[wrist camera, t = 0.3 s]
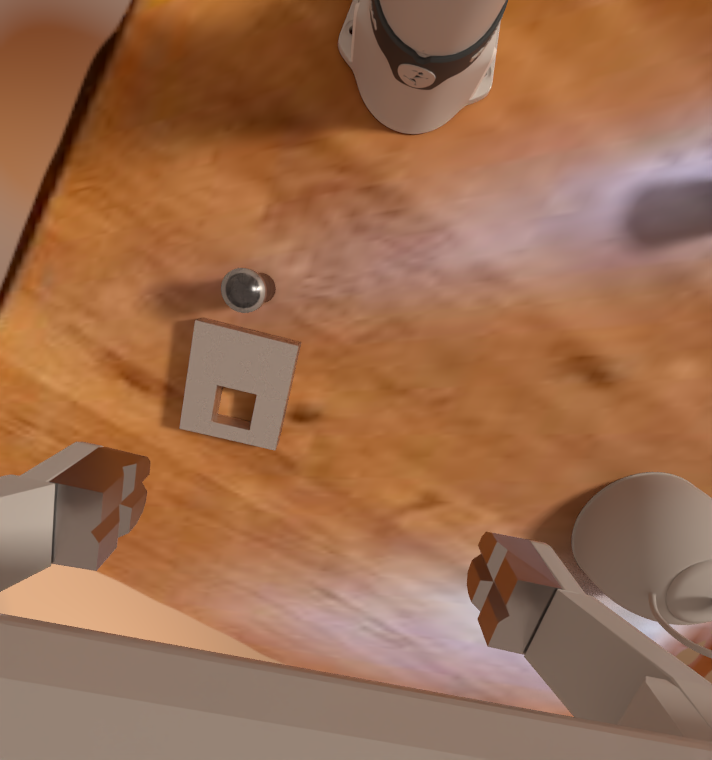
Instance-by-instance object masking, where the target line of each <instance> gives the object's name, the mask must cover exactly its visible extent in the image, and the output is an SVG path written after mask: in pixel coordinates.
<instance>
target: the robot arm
mask: <svg viewBox="0 0 712 760" xmlns="http://www.w3.org/2000/svg"><path fill="white" fill-rule="evenodd" d="M507 2H508V0H353V1H352V4H351V7H350V9H349V12H348V14H347V17H346V19H345V22H344V24H343V27H342V30H341V32H340V35H339V40H338V49H339V52H340V54H341V55H342V57H343V58H344V60H345V61H346V63H347V64H348V65H349V66H350V68H351V69H352V71H353V73H354V75H355V78H356V82H357V85H358V89H359V92H360V94H361V97H362V99H363V101H364V103H365V105H366V106H367V108H368V109H369V111H370V112H371V113H372V114H373V116H374V117H375V118H376V119H377V120H379V121H380V122H381V123H382V124H384V125H385V126H387V127H389V128H390V129H393V130H395V131H398V132H401V133H407V134H420V133H425V132H429V131H432V130H434V129H437V128H439V127H440V126H442V125H444V124H445V123H446V122H448V121H449V120H450V119H451V118H452V117H453V116H454V115H455V114H457V113H458V112H459V111H460V110H461V109H462V108H463V107H465V106H466V105H469V104H472V103H474V102H477V101H479V100H481V99H483V98H484V97H486V96H487V94H488V93H489V91H490V89H491V86H492V81H493V73H494V66H495V58H496V52H497V44H498V36H499V29H500V21H501V19H502V16H503V13H504V11H505V8H506V5H507ZM350 30H353V31H352V35H351V34H350V33H349V32H350ZM484 76H485V77H484ZM149 473H150V460H149V458H148V457H146V456H142V455H138V454H133V453H129V452H125V451H121V450H117V449H112V448H108V447H103V446H101V445H96V444H91V443H86V442H75V443H73V444H72V445H70V446H68V447H67V448H65V449H63V450H62V451H60V452H58V453H57V454H55V455H54V456H52V457H50V458H49V459H47V460H45V461H44V462H42V463H40V464H39V465H37V466H35V467H34V468H32V469H30V470H29V471H27V472H26V473H24V474H22V475H21V476H16V475H7V476H2V477H0V592H1V591H3V590H5V589H7V588H8V587H10V586H12V585H14V584H16V583H18V582H20V581H22V580H24V579H26V578H28V577H30V576H32V575H34V574H36V573H38V572H40V571H42V570H44V569H45V568H48V567H50V566H51V564H58V565H64V566H70V567H76V568H82V569H89V570H94V571H97V569H98V568H99V567H100V566H101V565H102V564H103V563H104V561H105V560H106V559H107V558H108V557H109V556H110V554H111V553H112V552H113V551H114V550H115V549H116V547H117V539H118V537H120V536H123V535H125V534H128V533H129V532H130V531H131V530H132V529H133V527H134V526H135V525H136V524H137V522H138V520H139V518H140V516H141V514H142V512H143V509H144V506H145V503H146V497H147V490H146V488H145V487H144V485H143V483H142V482H143V480H144V479H145V478H146V477H147V476H148V475H149ZM478 546H479V549H480V552H481V554H480V555H479V556H477V557H476V558H474V559H473V560H472V562H471V564H470V567H469V570H468V576H467V588H468V594H469V597H470V600H471V602H472V603H473V604H474V605H475V606H476V607H477V608H478V610H479V611H480V614H479V617H478V622H479V624H480V627H481V630H482V632H483V635H484V638H485V641H486V643H487V646H488V647H492V648H497V649H501V650H506V651H510V652H515V653H519V654H524V655H525V656H524V657H525V658H526V659H527V661H528V662H529V663H530V664H531V665H532V667H533V668H534V669H535V670H536V671H537V673H538V674H539V675H540V676H541V678H542V679H543V680H544V681H545V682H546V684H547V685H548V686H549V687H550V688H551V690H552V691H553V692H554V693H555V694H556V696H557V697H558V698H559V699H560V700H561V702H562V703H563V704H564V705H565V706H566V708H567V709H568V710H569V711H570V712H571V714H572V715H573V716H574V717H570V716H564V715H559V714H553V713H547V712H542V711H536V710H531V709H526V708H520V707H515V706H509V705H504V704H498V703H493V702H487V701H482V700H476V699H471V698H465V697H460V696H454V695H449V694H443V693H438V692H433V691H427V690H422V689H416V688H411V687H405V686H400V685H394V684H389V683H383V682H378V681H372V680H367V679H361V678H356V677H350V676H344V675H339V674H333V673H328V672H322V671H316V670H311V669H305V668H300V667H294V666H289V665H283V664H277V663H272V662H266V661H261V660H255V659H250V658H244V657H238V656H232V655H227V654H222V653H216V652H210V651H205V650H199V649H193V648H188V647H182V646H177V645H172V644H166V643H161V642H155V641H150V640H143V639H138V638H133V637H127V636H122V635H116V634H111V633H105V632H99V631H94V630H89V629H82V628H78V627H72V626H67V625H60V624H56V623H50V622H44V621H39V620H33V619H27V618H22V617H17V616H11V615H5V614H0V760H712V684H711V683H710V682H708V681H707V680H706V679H704V678H703V677H702V676H700V675H699V674H698V673H696V672H695V671H694V670H692V669H691V668H689V667H688V666H687V665H685V664H684V663H683V662H681V661H680V660H678V659H677V658H676V657H675V656H673V655H672V654H670V653H669V652H668V651H666V650H665V649H664V648H662V647H661V646H660V645H658V644H657V643H656V642H654V641H653V640H651V639H650V638H649V637H647V636H646V635H645V634H643V633H642V632H641V631H639V630H638V629H636V628H635V627H634V626H632V625H631V624H630V623H628V622H627V621H626V620H624V619H623V618H622V617H620V616H619V615H617V614H616V613H615V612H613V611H612V610H611V609H609V608H608V607H607V606H605V605H604V604H603V603H601V602H600V601H598V600H597V599H596V598H594V597H593V596H590V595H586V594H585V593H584V591H583V590H582V588H581V587H580V586H579V584H578V583H577V582H576V580H575V579H574V578H573V576H572V575H571V574H570V572H569V571H568V569H567V568H566V567H565V565H564V564H563V563H562V561H561V560H560V559H559V557H558V556H557V554H556V553H555V552H554V550H553V549H552V548H551V546H549V545H548V544H546V543H545V542H539V541H534V540H528V539H522V538H516V537H511V536H506V535H501V534H496V533H490V532H485V534H484V535H483V536H482V537H481V540H480V542H479V544H478Z"/></svg>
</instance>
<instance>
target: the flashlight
mask: <svg viewBox="0 0 712 760" xmlns="http://www.w3.org/2000/svg"><path fill="white" fill-rule="evenodd" d="M275 290H276V287H275V283H274V281H273V279H272V278H271V277H270V276H268V275H267V274H264V273H257V272H256V271H254V270H251V269H247V268H237V269H234V270H232V271H230V272H229V273H228V274H227V275H226V276H225V277H224V279H223V281H222V285H221V293H222V296H223V299H224V301H225V302H226V304H227V305H228V306H229V307H230V308H232V309H233V310H235V311H237V312H241V313H248V312H252V311H255V310H257V309H258V308H260V307H261V306H262V305H263V304H264V303H265V302H268V301H269V300H271V299H272V298H273V296H274V294H275Z"/></svg>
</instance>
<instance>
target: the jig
mask: <svg viewBox="0 0 712 760" xmlns="http://www.w3.org/2000/svg"><path fill="white" fill-rule="evenodd" d="M300 346H301V342H298V341H294V340H290V339H286V338H283V337H279V336H275V335H271V334H267V333H263V332H259V331H255V330H251V329H247V328H243V327H239V326H235V325H231V324H227V323H223V322H219V321H215V320H211V319H207V318H201V319H197V320H195V325H194V332H193V339H192V346H191V352H190V359H189V366H188V373H187V380H186V387H185V394H184V400H183V407H182V414H181V421H180V428H179V429H184V430H188V431H192V432H197V433H201V434H206V435H210V436H214V437H219V438H223V439H228V440H232V441H236V442H241V443H245V444H249V445H254V446H258V447H263V448H267V449H271V450H276V448H277V445H278V443H279V440H280V435H281V431H282V427H283V422H284V418H285V413H286V409H287V404H288V400H289V395H290V391H291V386H292V382H293V377H294V373H295V369H296V364H297V360H298V355H299V351H300ZM223 387H227V388H231V389H236V390H240V391H244V392H248V393H252V394H257V396H256V401H255V406H254V411H253V416H252V421H246V420H242V419H238V418H233V417H229V416H225V415H220V414H218V411H219V405H220V400H221V394H222V388H223Z"/></svg>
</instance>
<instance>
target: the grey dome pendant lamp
mask: <svg viewBox="0 0 712 760" xmlns="http://www.w3.org/2000/svg"><path fill="white" fill-rule="evenodd" d="M571 543H572V551H573V555H574V558H575V560H576V562H577V564H578V565H579V567H580V568H581V569H582V571H583V572H584V573H585V574H586V575H587V576H588V577H589V578H590V580H591V581H592V582H593V583H594V584H595V585H596V586H597V587H598V588H599V589H600V590H601V591H602V592H603V593H604V594H605V595H606V596H608V597H609V598H610V599H611V600H613V601H614V602H615V603H617V604H618V605H620V606H621V607H623V608H625V609H627V610H628V611H630V612H632V613H634V614H637V615H639V616H641V617H644V618H647V619H650V620H653V621H657V622H658V623H659V624H660V625H661V626H662V627H663V628H664V629H665V630H666V631H667V632H668V633H669V634H671V635H672V636H673V637H674V638H675V639H677V640H678V641H679V642H681V643H682V644H684V645H686V646H687V647H689V648H691V649H692V650H694V651H696V652H698V653H700V654H702V655H705V656H707V657H710V658H712V650H709V649H706V648H704V647H702V646H699V645H697V644H695V643H694V642H692V641H690V640H688V639H687V638H685V637H683V636H682V635H681V634H679V633H678V632H677V631H675V630H674V629H673V628H672V627H671V626H670V625H669V624H675V625H692V624H700V623H705V622H710V621H712V498H711V497H709V496H708V495H707V494H705V493H704V492H702V491H701V490H700V489H698V488H697V487H695V486H694V485H692V484H691V483H690V482H688V481H687V480H685V479H683V478H681V477H678V476H676V475H672V474H668V473H662V472H646V473H639V474H634V475H630V476H627V477H624V478H622V479H619V480H617V481H615V482H613V483H611V484H609V485H608V486H606V487H605V488H603V489H602V490H600V491H599V492H598V493H597V494H596V495H594V496H593V497H592V498H591V499H590V500H589V501H588V503H587V504H586V505H585V506H584V508H583V509H582V511H581V512H580V514H579V516H578V518H577V520H576V522H575V525H574V528H573V532H572V540H571Z"/></svg>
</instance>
